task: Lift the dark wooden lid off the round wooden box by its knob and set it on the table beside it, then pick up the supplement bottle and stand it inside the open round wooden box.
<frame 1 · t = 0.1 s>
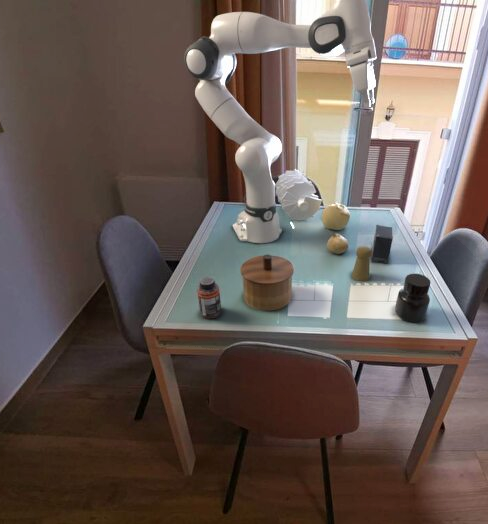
hand: (369, 105, 112), 52 cm above the table, tool tilted 20°, fingers open, 8 cm apart
ink bottle: (409, 314, 106), on the table
onion: (337, 251, 137), on the table
lid: (267, 270, 106), point 9 cm above the table, touching round wooden box
small box: (379, 256, 136), on the table
round wooden box: (267, 296, 111), on the table
tan pawn: (360, 276, 123), on the table
supplement bottle: (211, 313, 103), on the table
spiral staircase: (296, 212, 169), on the table
sculpture: (334, 227, 157), on the table
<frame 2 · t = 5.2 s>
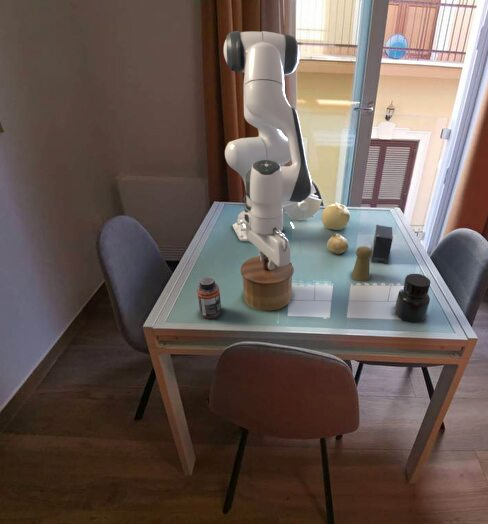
hand: (267, 265, 105), 11 cm above the table, tool pointing down, fingers closed on lid, 2 cm apart
lid: (267, 270, 106), point 10 cm above the table, touching round wooden box, gripper
everything else where it was.
when the fingers open (6 cm above the table, at t = 28.9 s): lid stays where it is, point 1 cm above the table.
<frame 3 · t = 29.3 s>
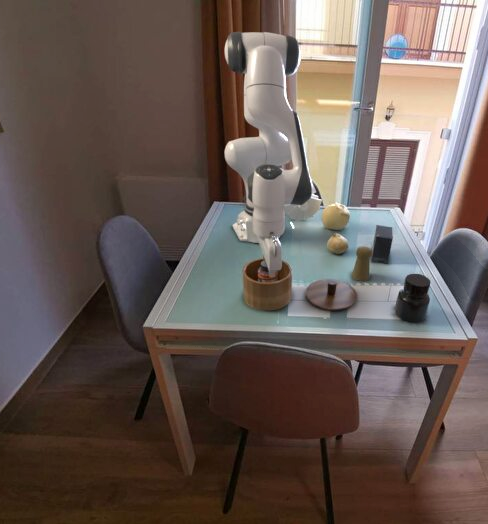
hand: (268, 267, 107), 10 cm above the table, tool pointing down, fingers open, 8 cm apart
lid: (331, 294, 112), point 1 cm above the table
supplement bottle: (268, 295, 110), resting on round wooden box
everything else where it was.
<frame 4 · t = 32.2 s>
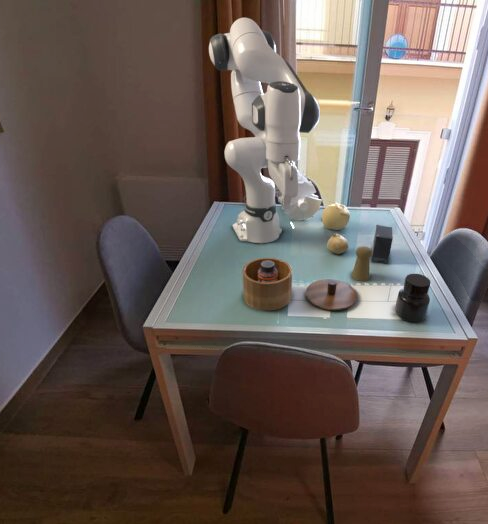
hand: (282, 201, 100), 29 cm above the table, tool pointing down, fingers open, 8 cm apart
nothing on the table moved.
at the end: lid inside the target area (0.1 cm from its centre), point 0.6 cm above the table; supplement bottle inside the target area in the round wooden box (0.1 cm from its centre), point 0.3 cm above the round wooden box's base; supplement bottle tilted 0° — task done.
